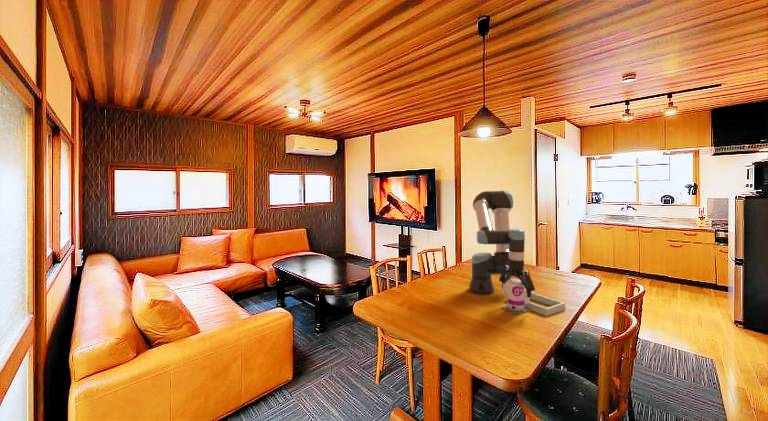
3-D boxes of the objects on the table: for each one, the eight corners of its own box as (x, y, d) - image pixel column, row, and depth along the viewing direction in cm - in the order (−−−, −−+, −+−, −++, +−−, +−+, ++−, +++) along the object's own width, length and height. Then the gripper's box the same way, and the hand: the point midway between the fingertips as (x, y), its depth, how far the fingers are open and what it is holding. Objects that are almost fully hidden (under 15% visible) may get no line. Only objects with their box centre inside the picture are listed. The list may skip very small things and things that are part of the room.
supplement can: (526, 312, 155) (526, 283, 154) (508, 311, 156) (509, 282, 155) (522, 305, 163) (522, 278, 162) (505, 305, 164) (506, 277, 163)
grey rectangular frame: (507, 300, 172) (507, 294, 172) (524, 295, 179) (524, 290, 179) (546, 315, 151) (546, 309, 151) (565, 309, 158) (565, 303, 158)
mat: (501, 308, 162) (501, 307, 162) (514, 304, 166) (514, 303, 166) (517, 314, 153) (517, 313, 153) (530, 310, 157) (530, 309, 157)
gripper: (492, 255, 167) (492, 293, 168) (533, 265, 145) (532, 308, 146) (502, 253, 170) (501, 290, 172) (543, 263, 148) (542, 305, 150)
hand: (515, 299), depth 159 cm, fingers open, 13 cm apart
